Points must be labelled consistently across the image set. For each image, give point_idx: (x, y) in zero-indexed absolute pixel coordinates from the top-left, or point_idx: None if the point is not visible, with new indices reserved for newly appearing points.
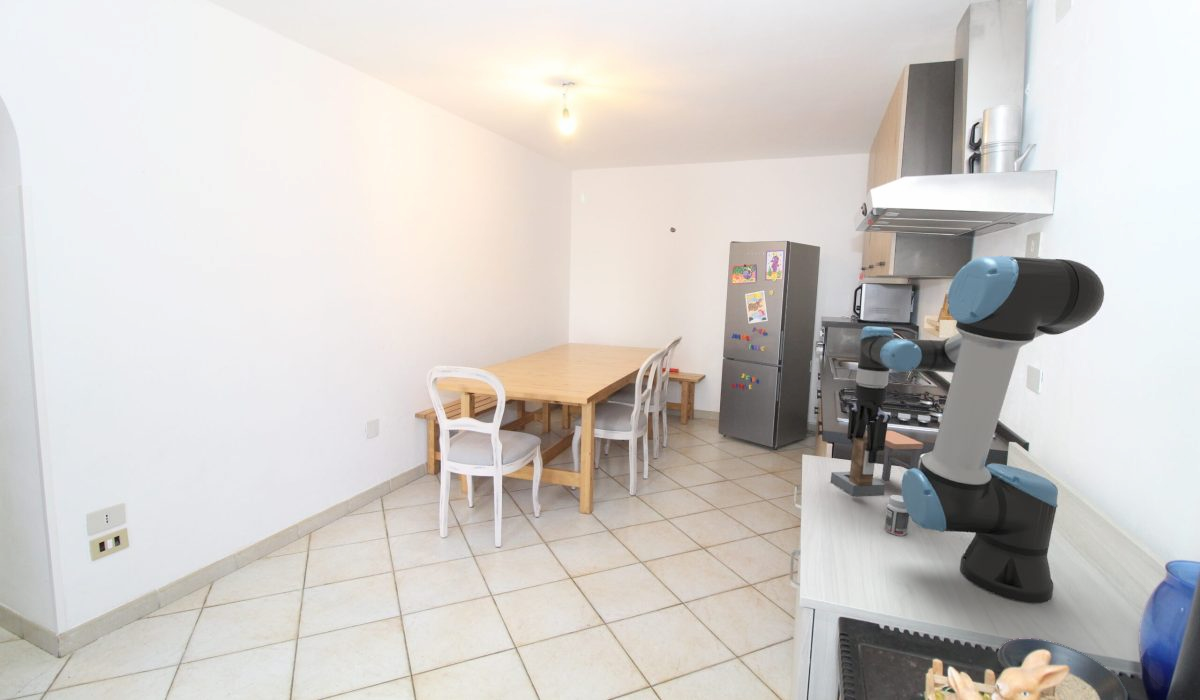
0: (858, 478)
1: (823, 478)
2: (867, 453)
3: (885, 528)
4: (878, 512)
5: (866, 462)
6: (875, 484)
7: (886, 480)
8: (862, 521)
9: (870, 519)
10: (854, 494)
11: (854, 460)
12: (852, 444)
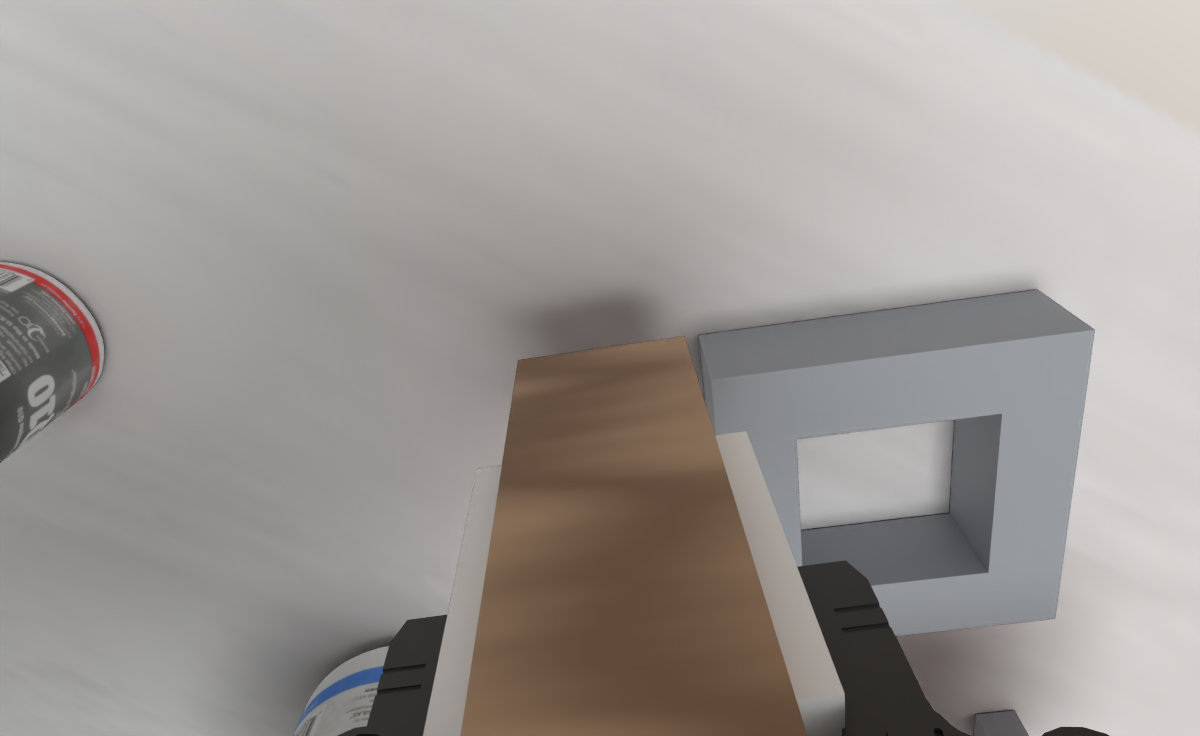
0: (531, 396)
1: (1135, 261)
2: (437, 710)
3: (3, 264)
4: (375, 383)
5: (460, 590)
6: None
7: (976, 725)
8: (146, 148)
9: (211, 245)
10: (702, 358)
11: (652, 494)
12: (920, 691)
